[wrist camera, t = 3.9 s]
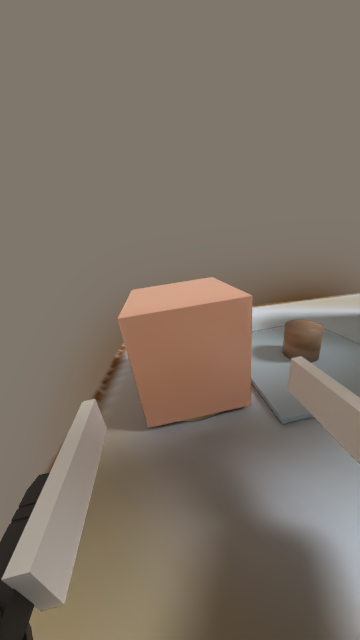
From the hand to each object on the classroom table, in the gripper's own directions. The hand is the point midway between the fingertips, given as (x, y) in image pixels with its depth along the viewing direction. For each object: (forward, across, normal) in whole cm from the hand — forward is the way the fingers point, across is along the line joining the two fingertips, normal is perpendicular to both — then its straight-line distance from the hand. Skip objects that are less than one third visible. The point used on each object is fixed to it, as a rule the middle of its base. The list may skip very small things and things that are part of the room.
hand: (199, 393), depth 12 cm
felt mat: (+9, +15, -6) cm, 19 cm away
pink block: (+8, 0, -6) cm, 10 cm away
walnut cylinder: (+9, +15, -6) cm, 19 cm away
